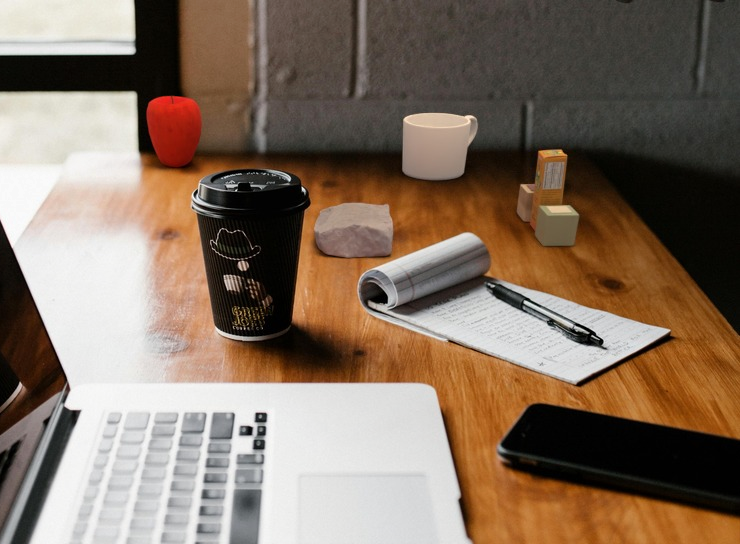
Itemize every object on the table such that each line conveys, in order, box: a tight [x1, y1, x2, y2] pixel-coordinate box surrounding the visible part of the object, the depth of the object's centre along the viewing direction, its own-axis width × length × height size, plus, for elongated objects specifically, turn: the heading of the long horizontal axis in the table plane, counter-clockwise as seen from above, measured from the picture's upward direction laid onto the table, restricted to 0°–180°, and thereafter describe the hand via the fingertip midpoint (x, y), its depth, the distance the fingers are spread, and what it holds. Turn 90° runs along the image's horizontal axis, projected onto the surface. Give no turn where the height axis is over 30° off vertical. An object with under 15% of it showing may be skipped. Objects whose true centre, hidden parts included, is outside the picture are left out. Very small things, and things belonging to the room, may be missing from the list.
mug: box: [401, 112, 479, 181], centre depth 137 cm, size 13×10×8 cm
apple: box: [146, 95, 203, 168], centre depth 141 cm, size 9×9×11 cm
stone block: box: [313, 202, 394, 259], centre depth 110 cm, size 12×5×10 cm
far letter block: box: [516, 183, 535, 223], centre depth 118 cm, size 4×4×4 cm
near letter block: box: [534, 204, 580, 247], centre depth 110 cm, size 4×4×4 cm
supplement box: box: [529, 149, 568, 232], centre depth 112 cm, size 3×3×10 cm
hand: (669, 1), depth 90 cm, fingers open, 9 cm apart
